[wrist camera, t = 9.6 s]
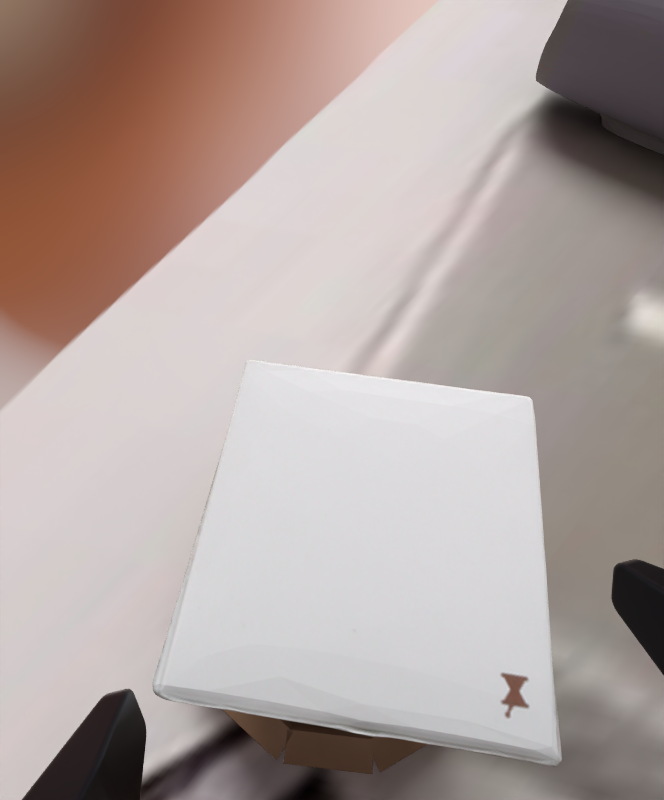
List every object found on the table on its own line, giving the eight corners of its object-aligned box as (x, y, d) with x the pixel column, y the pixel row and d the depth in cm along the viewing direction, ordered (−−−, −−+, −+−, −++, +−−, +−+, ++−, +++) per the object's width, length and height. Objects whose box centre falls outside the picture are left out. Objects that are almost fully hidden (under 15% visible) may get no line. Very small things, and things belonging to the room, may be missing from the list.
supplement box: (429, 509, 22) (548, 392, 10) (419, 685, 18) (578, 792, 7) (282, 486, 22) (244, 348, 11) (247, 654, 19) (138, 709, 7)
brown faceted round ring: (486, 769, 18) (509, 790, 16) (169, 731, 18) (148, 747, 16) (473, 462, 24) (488, 447, 21) (232, 437, 24) (224, 419, 22)
